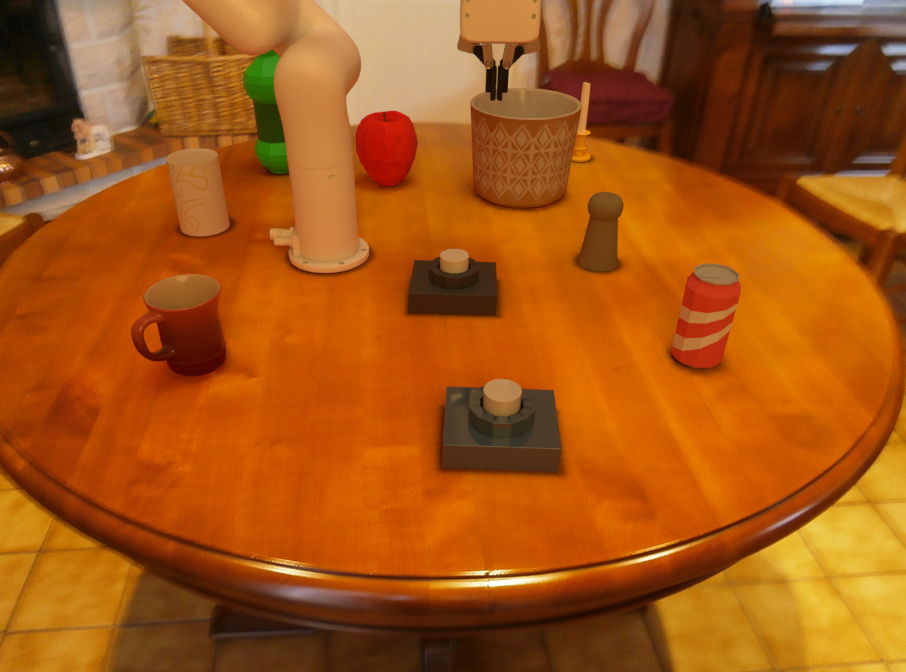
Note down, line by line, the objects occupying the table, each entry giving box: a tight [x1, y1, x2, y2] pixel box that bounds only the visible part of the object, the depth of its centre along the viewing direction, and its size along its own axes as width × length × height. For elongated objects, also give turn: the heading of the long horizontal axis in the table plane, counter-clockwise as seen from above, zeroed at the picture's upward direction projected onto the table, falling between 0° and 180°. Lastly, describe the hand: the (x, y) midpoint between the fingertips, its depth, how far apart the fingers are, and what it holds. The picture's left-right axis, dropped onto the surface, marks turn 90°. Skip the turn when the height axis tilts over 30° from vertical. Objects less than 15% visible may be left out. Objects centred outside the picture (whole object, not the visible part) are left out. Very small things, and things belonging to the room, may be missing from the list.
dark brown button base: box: [408, 256, 498, 317], centre depth 104 cm, size 12×10×5 cm
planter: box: [469, 87, 582, 209], centre depth 133 cm, size 19×19×16 cm
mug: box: [130, 273, 228, 378], centre depth 88 cm, size 12×9×10 cm
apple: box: [354, 110, 419, 187], centre depth 138 cm, size 12×12×13 cm
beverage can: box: [670, 263, 742, 369], centre depth 89 cm, size 6×6×12 cm
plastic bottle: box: [242, 50, 289, 175], centre depth 140 cm, size 10×10×25 cm
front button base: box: [441, 385, 562, 473], centre depth 79 cm, size 12×10×5 cm
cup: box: [165, 147, 231, 237], centre depth 122 cm, size 8×8×12 cm
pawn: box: [577, 191, 625, 273], centre depth 111 cm, size 6×6×11 cm
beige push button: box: [483, 378, 522, 416], centre depth 77 cm, size 4×4×2 cm
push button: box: [439, 248, 470, 273], centre depth 102 cm, size 4×4×2 cm
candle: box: [572, 81, 592, 163], centre depth 149 cm, size 5×5×16 cm
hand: (496, 97), depth 99 cm, fingers closed
